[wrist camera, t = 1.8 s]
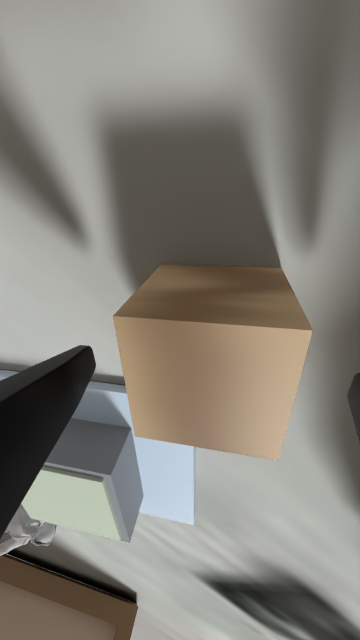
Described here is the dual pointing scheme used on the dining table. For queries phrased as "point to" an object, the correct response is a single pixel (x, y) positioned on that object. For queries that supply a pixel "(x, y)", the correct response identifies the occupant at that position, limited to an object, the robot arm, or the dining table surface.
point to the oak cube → (213, 357)
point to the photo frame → (58, 606)
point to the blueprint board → (145, 454)
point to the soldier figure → (26, 532)
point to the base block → (89, 481)
